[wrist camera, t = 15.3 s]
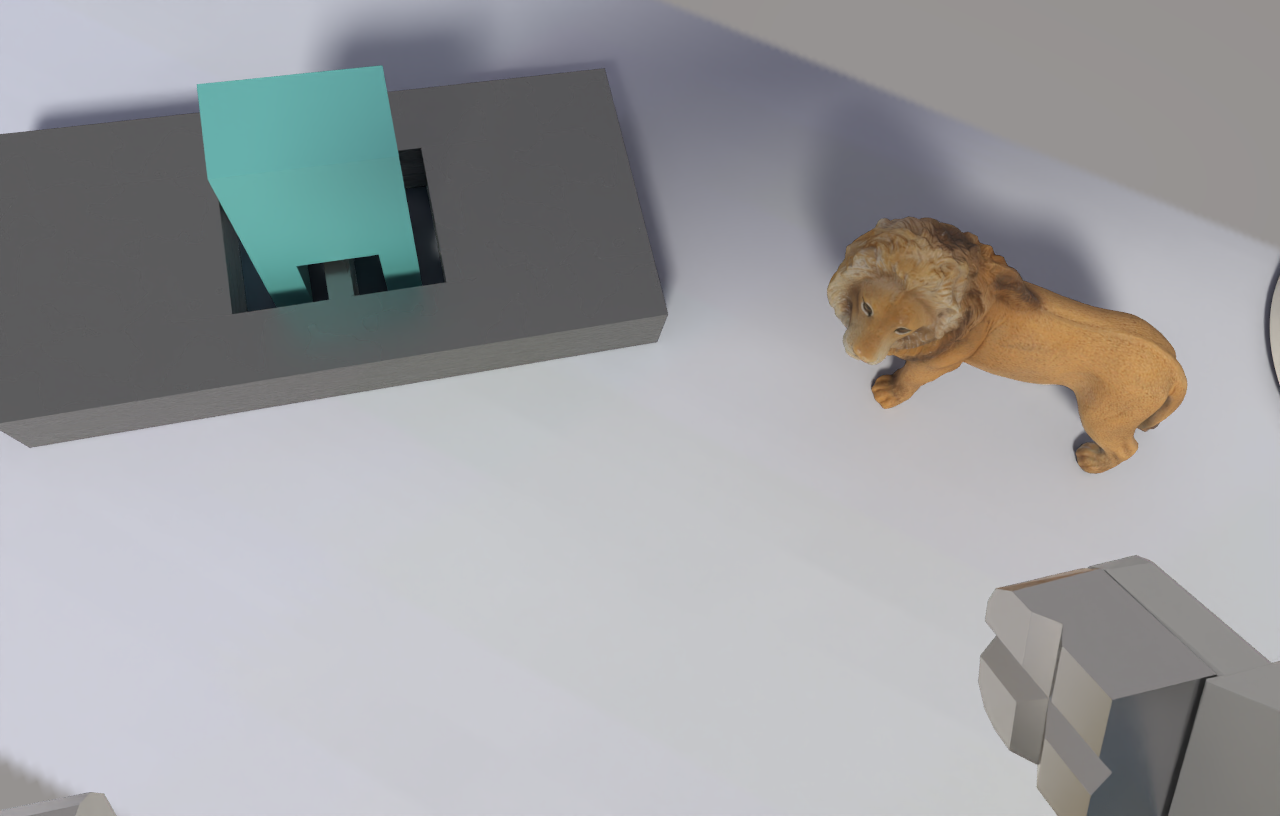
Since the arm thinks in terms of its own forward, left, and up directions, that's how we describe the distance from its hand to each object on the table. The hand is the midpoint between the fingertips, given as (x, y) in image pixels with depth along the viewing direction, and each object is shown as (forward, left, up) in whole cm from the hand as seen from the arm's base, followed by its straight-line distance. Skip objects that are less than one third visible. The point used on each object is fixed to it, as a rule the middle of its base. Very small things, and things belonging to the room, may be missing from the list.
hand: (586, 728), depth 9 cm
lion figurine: (-18, -8, -23) cm, 30 cm away
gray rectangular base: (+3, -17, -23) cm, 29 cm away
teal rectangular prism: (+3, -17, -23) cm, 29 cm away
